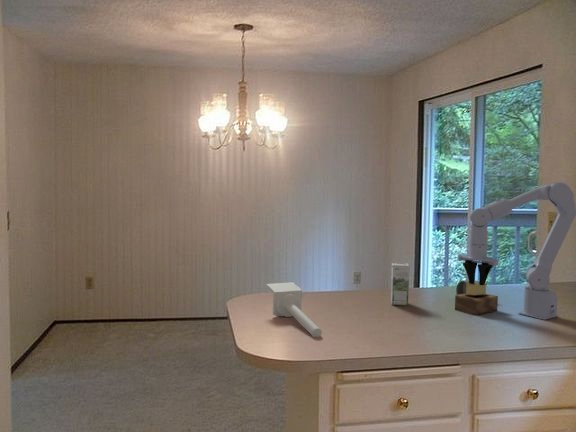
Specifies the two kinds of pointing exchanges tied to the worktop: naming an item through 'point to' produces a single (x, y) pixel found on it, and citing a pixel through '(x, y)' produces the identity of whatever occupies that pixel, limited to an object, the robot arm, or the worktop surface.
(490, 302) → the walnut box
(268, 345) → the worktop surface
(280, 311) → the white block with rod
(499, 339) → the worktop surface
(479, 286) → the yellow rectangular block
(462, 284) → the ceramic mug
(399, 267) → the syrup box
